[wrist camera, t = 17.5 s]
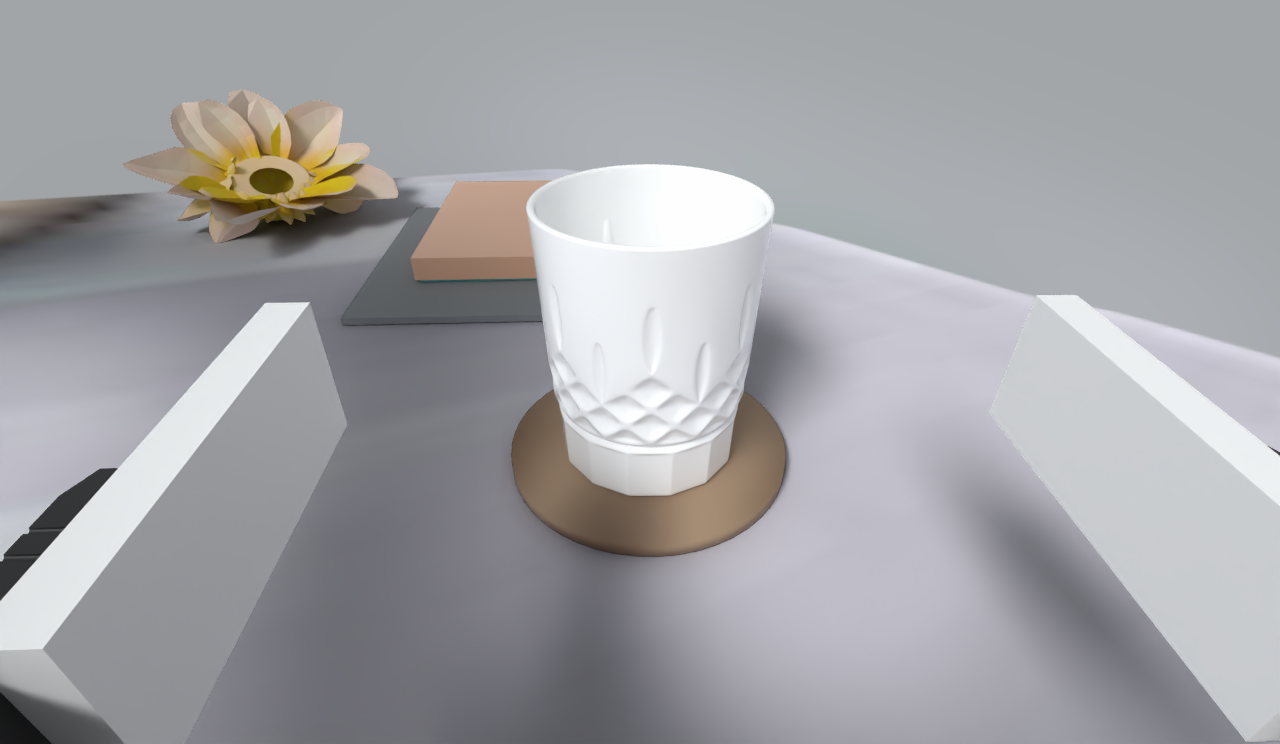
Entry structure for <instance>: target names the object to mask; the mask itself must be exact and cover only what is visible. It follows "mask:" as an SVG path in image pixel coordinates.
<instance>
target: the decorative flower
mask: <svg viewBox="0 0 1280 744" xmlns="http://www.w3.org/2000/svg"><path fill="white" fill-rule="evenodd" d="M228 106H229V107H228ZM228 106H226V105H223V104H221V103H219V102H216V101H212V100H205V101H201V102H190V103H181V104H180V105H178V106H177V107H176V108H175V109H173V111H172V115H171V123H172V128H173V130H174V132H175V134H176V136H177V138H178V139H179V141H180V142H181V143H182V144H183V145H184V147H185V148H180V147H174V148H171V149H167V150H164V151H160V152H157V153H154V154H151V155H148V156H144V157H141V158H137V159H134V160H131V161H129V162H127V163H124V164H123V165H124V167H125V168H127V169H129V170H131V171H133V172H135V173H137V174H140V175H143V176H146V177H149V178H152V179H155V180H158V181H161V182H164V183H168V184H171V185H175V187H173V188H172V189H170V190H169V191H168V193H170V194H175V195H180V196H184V197H188V198H194V199H195V200H194V201H193V202H192V203H191V204H190V205H189V206H188V207H187V209H186V210H185V211H184V213H183V214H182V215H181V216H180V217H179V218H178V220H177V221H190V220H194V219H197V218H200V217H201V216H203V215H205V214H206V213H208V212H210V211H211V210H212V211H211V215H210V220H209V233H210V235H211V237H212V239H213V241H214V242H215V243H221V242H225V241H228V240H231V239H234V238H236V237H239V236H241V235H244V234H246V233H249V232H251V231H252V230H254V229H255V228H256V227H257V225H258V224H259V222H260V220H261V219H265V220H266V222H267V223H268V222H270V221H272V220H274V221H279V220H284V221H286V222H287V223H289V224H291V225H292V222H293V217H294V218H295V219H298V220H301V221H304V222H306V216H305V214H313V215H316V214H315V212H314V210H313V209H314V208H317V207H320V206H323V207H325V208H327V209H329V210H332V211H334V212H337V213H340V214H344V213H349V212H353V211H356V210H358V209H359V208H360V206H361V205H362V203H363V200H378V199H392V198H397V197H398V190H397V188H396V185H395V182H394V179H393V178H392V177H391V176H389V175H388V174H387V173H386V172H385V171H383V170H381V169H379V168H376V167H374V166H371V165H368V164H353V163H355V162H357V161H359V160H361V159H363V158H365V157H367V156H368V154H369V152H370V149H369V148H368V146H366V145H365V144H362V143H348V144H342V145H338V140H339V135H340V130H341V124H342V117H343V110H342V109H340V108H339V107H337V106H335V105H332V104H330V103H327V102H325V101H322V100H320V101H310V102H305V103H303V104H301V105H299V106H297V107H295V108H292V109H290V110H289V111H288V112H287V114H286V115H285V116H283V114H282V112H281V111H280V110H279V109H278V108H277V107H276V106H275V104H273V103H271V102H270V101H269V100H267V99H263V98H262V97H260V96H259V95H257V94H256V93H252V92H249V91H245V90H238V91H232V92H230V94H229V101H228ZM337 145H338V146H337ZM304 213H305V214H304Z"/></svg>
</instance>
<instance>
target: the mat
mask: <svg viewBox="0 0 1280 744" xmlns="http://www.w3.org/2000/svg"><path fill="white" fill-rule="evenodd" d="M439 210H440V208H416V210H415V211H414V212H413V214H412V215H411V217H410V218H409V220H408V221H407V223H406V224H405V226H404V227H403V228H402V230H401V231H400V233H399V234H398V236H397V237H396V239H395V240H394V242H393V243H392V245H391V246H390V247H389V249H388V250H387V252H386V253H385V255H384V256H383V258H382V259H381V261H380V262H379V264H378V265H377V266H376V268H375V269H374V271H373V272H372V274H371V275H370V277H369V278H368V280H367V281H366V283H365V284H364V285H363V287H362V288H361V290H360V291H359V293H358V294H357V296H356V297H355V299H354V300H353V301H352V303H351V304H350V306H349V307H348V309H347V310H346V312H345V313H344V315H343V316H342V318H341V321H342V324H343V325H369V324H420V323H471V322H523V321H543V319H542V312H541V305H540V299H539V292H538V285H537V280H501V281H443V282H420V280H415V278H414V274H413V269H412V264H411V259H410V258H411V256H412V255H413V253H414V251H415V250H416V248H417V246H418V245H419V243H420V241H421V240H422V238H423V236H424V235H425V233H426V231H427V230H428V228H429V226H430V225H431V223H432V221H433V220H434V218H435V216H436V215H437V213H438V211H439Z"/></svg>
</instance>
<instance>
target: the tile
mask: <svg viewBox="0 0 1280 744" xmlns="http://www.w3.org/2000/svg"><path fill="white" fill-rule="evenodd" d="M549 182H551V181H475V182H456V183H455V185H454V186H453V188H452V190H451V191H450V193H449V195H448V196H447V198H446V200H445V201H444V203H443V205H442V206H441V208H440V210H439V211H438V213H437V215H436V216H435V218H434V220H433V221H432V223H431V225H430V226H429V228H428V230H427V231H426V233H425V235H424V236H423V238H422V240H421V241H420V243H419V245H418V246H417V248H416V250H415V251H414V253H413V255H412V256H411V258H410V259H411V264H412V269H413V274H414V278H415V280H420V282H443V281H501V280H537V278H536V271H535V264H534V257H533V251H532V244H531V238H530V231H529V224H528V218H527V212H526V205H527V201H528V199H529V198H530V196H531V195H532V194H533V193H534V192H535V191H536V190H537V189H539V188H540V187H541V186H543V185H545V184H547V183H549Z"/></svg>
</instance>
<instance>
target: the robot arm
mask: <svg viewBox="0 0 1280 744" xmlns="http://www.w3.org/2000/svg"><path fill="white" fill-rule="evenodd" d="M989 414H990V415H991V416H992V418H993V419H994V420H995V421H996V423H997V424H998V425H999V427H1000V428H1001V429H1002V430H1003V432H1004V433H1005V434H1006V436H1007V437H1008V438H1009V439H1010V441H1011V442H1012V443H1013V444H1014V446H1015V447H1016V448H1017V450H1018V451H1019V452H1020V453H1021V455H1022V456H1023V457H1024V459H1025V460H1026V461H1027V462H1028V464H1029V465H1030V466H1031V467H1032V469H1033V470H1034V471H1035V473H1036V474H1037V475H1038V476H1039V478H1040V479H1041V480H1042V482H1043V483H1044V484H1045V485H1046V487H1047V488H1048V489H1049V490H1050V492H1051V493H1052V494H1053V496H1054V497H1055V498H1056V499H1057V501H1058V502H1059V503H1060V505H1061V506H1062V507H1063V508H1064V510H1065V511H1066V512H1067V513H1068V515H1069V516H1070V517H1071V519H1072V520H1073V521H1074V522H1075V524H1076V525H1077V526H1078V528H1079V529H1080V530H1081V531H1082V533H1083V534H1084V535H1085V536H1086V538H1087V539H1088V540H1089V542H1090V543H1091V544H1092V545H1093V547H1094V548H1095V549H1096V550H1097V552H1098V553H1099V554H1100V556H1101V557H1102V558H1103V559H1104V561H1105V562H1106V563H1107V565H1108V566H1109V567H1110V568H1111V570H1112V571H1113V572H1114V573H1115V575H1116V576H1117V577H1118V579H1119V580H1120V581H1121V582H1122V584H1123V585H1124V586H1125V588H1126V589H1127V590H1128V591H1129V593H1130V594H1131V595H1132V596H1133V598H1134V599H1135V600H1136V602H1137V603H1138V604H1139V605H1140V607H1141V608H1142V609H1143V611H1144V612H1145V613H1146V614H1147V616H1148V617H1149V618H1150V619H1151V621H1152V622H1153V623H1154V625H1155V626H1156V627H1157V628H1158V630H1159V631H1160V632H1161V634H1162V635H1163V636H1164V637H1165V639H1166V640H1167V641H1168V642H1169V644H1170V645H1171V646H1172V648H1173V649H1174V650H1175V651H1176V653H1177V654H1178V655H1179V657H1180V658H1181V659H1182V660H1183V662H1184V663H1185V664H1186V665H1187V667H1188V668H1189V669H1190V671H1191V672H1192V673H1193V674H1194V676H1195V677H1196V678H1197V680H1198V681H1199V682H1200V683H1201V685H1202V686H1203V687H1204V688H1205V690H1206V691H1207V692H1208V694H1209V695H1210V696H1211V697H1212V699H1213V700H1214V701H1215V702H1216V704H1217V705H1218V706H1219V708H1220V709H1221V710H1222V711H1223V713H1224V714H1225V715H1226V717H1227V718H1228V719H1229V720H1230V722H1231V723H1232V724H1233V725H1234V727H1235V728H1236V729H1237V731H1238V732H1239V733H1240V734H1241V736H1242V737H1243V738H1244V740H1245V741H1246V742H1257V741H1280V452H1278V451H1276V450H1275V449H1273V448H1271V447H1269V446H1267V445H1265V444H1264V443H1263V442H1262V441H1260V440H1259V439H1258V438H1257V437H1255V436H1254V435H1253V434H1251V433H1250V432H1249V431H1248V430H1246V429H1245V428H1244V427H1243V426H1241V425H1240V424H1239V423H1238V422H1236V421H1235V420H1234V419H1233V418H1231V417H1230V416H1229V415H1227V414H1226V413H1225V412H1224V411H1222V410H1221V409H1220V408H1219V407H1217V406H1216V405H1215V404H1214V403H1212V402H1211V401H1210V400H1208V399H1207V398H1206V397H1205V396H1203V395H1202V394H1201V393H1200V392H1198V391H1197V390H1196V389H1195V388H1193V387H1192V386H1191V385H1190V384H1188V383H1187V382H1186V381H1184V380H1183V379H1182V378H1181V377H1179V376H1178V375H1177V374H1176V373H1174V372H1173V371H1172V370H1171V369H1169V368H1168V367H1167V366H1166V365H1164V364H1163V363H1162V362H1160V361H1159V360H1158V359H1157V358H1155V357H1154V356H1153V355H1152V354H1150V353H1149V352H1148V351H1147V350H1145V349H1144V348H1143V347H1141V346H1140V345H1139V344H1138V343H1136V342H1135V341H1134V340H1133V339H1131V338H1130V337H1129V336H1128V335H1126V334H1125V333H1124V332H1123V331H1121V330H1120V329H1119V328H1117V327H1116V326H1115V325H1114V324H1112V323H1111V322H1110V321H1109V320H1107V319H1106V318H1105V317H1104V316H1102V315H1101V314H1100V313H1098V312H1097V311H1096V310H1095V309H1093V308H1092V307H1091V306H1090V305H1088V304H1087V303H1086V302H1085V301H1083V300H1082V299H1081V298H1080V297H1078V296H1077V295H1036V297H1035V300H1034V302H1033V305H1032V307H1031V310H1030V312H1029V315H1028V317H1027V320H1026V322H1025V325H1024V327H1023V329H1022V332H1021V334H1020V337H1019V339H1018V342H1017V344H1016V347H1015V349H1014V352H1013V354H1012V357H1011V359H1010V362H1009V364H1008V367H1007V369H1006V372H1005V374H1004V377H1003V379H1002V382H1001V384H1000V387H999V389H998V392H997V394H996V397H995V399H994V401H993V404H992V406H991V409H990V411H989ZM347 425H348V424H347V421H346V417H345V414H344V411H343V408H342V404H341V401H340V398H339V395H338V392H337V388H336V385H335V382H334V379H333V375H332V372H331V369H330V366H329V363H328V359H327V356H326V353H325V350H324V346H323V343H322V340H321V337H320V333H319V330H318V327H317V324H316V321H315V317H314V314H313V311H312V308H311V304H310V302H303V303H265V304H264V305H263V306H262V307H261V308H260V309H259V310H258V312H257V313H256V314H255V315H254V316H253V317H252V318H251V319H250V321H249V322H248V323H247V324H246V325H245V326H244V327H243V328H242V330H241V331H240V332H239V333H238V334H237V335H236V336H235V337H234V339H233V340H232V341H231V342H230V343H229V344H228V345H227V346H226V348H225V349H224V350H223V351H222V352H221V353H220V354H219V355H218V357H217V358H216V359H215V360H214V361H213V362H212V363H211V364H210V366H209V367H208V368H207V369H206V370H205V371H204V372H203V373H202V375H201V376H200V377H199V378H198V379H197V380H196V381H195V382H194V384H193V385H192V386H191V387H190V388H189V389H188V390H187V391H186V393H185V394H184V395H183V396H182V397H181V398H180V399H179V400H178V402H177V403H176V404H175V405H174V406H173V407H172V408H171V409H170V411H169V412H168V413H167V414H166V415H165V416H164V417H163V418H162V420H161V421H160V422H159V423H158V424H157V425H156V426H155V427H154V429H153V430H152V431H151V432H150V433H149V434H148V435H147V436H146V438H145V439H144V440H143V441H142V442H141V443H140V444H139V445H138V447H137V448H136V449H135V450H134V451H133V452H132V453H131V454H130V456H129V457H128V458H127V459H126V460H125V461H124V462H123V464H122V465H121V466H120V467H119V468H108V469H99V470H97V471H96V472H94V473H93V474H91V475H90V476H88V477H87V478H85V479H84V480H82V481H81V482H79V483H78V484H76V485H75V486H73V487H72V488H70V489H69V490H67V491H66V492H64V493H63V494H61V495H60V496H59V497H58V498H57V499H56V500H55V501H54V502H53V503H52V504H51V505H50V506H49V507H48V508H47V509H46V510H45V511H44V512H43V514H42V515H41V516H40V517H39V518H38V519H37V520H36V521H35V522H34V523H33V524H32V525H31V526H30V527H29V529H30V530H29V533H28V534H23V535H22V536H21V537H20V538H19V539H18V540H17V541H16V542H15V543H14V544H13V545H12V546H11V547H10V548H9V549H8V550H7V552H6V553H5V554H4V560H3V561H2V562H0V744H185V743H186V741H187V739H188V737H189V735H190V733H191V731H192V729H193V727H194V725H195V723H196V721H197V719H198V717H199V715H200V714H201V712H202V710H203V708H204V706H205V704H206V702H207V700H208V698H209V696H210V694H211V692H212V690H213V688H214V686H215V684H216V682H217V680H218V678H219V676H220V674H221V672H222V670H223V668H224V666H225V664H226V662H227V661H228V659H229V657H230V655H231V653H232V651H233V649H234V647H235V645H236V643H237V641H238V639H239V637H240V635H241V633H242V631H243V629H244V627H245V625H246V623H247V621H248V619H249V617H250V615H251V613H252V611H253V609H254V608H255V606H256V604H257V602H258V600H259V598H260V596H261V594H262V592H263V590H264V588H265V586H266V584H267V582H268V580H269V578H270V576H271V574H272V572H273V570H274V568H275V566H276V564H277V562H278V560H279V558H280V556H281V555H282V553H283V551H284V549H285V547H286V545H287V543H288V541H289V539H290V537H291V535H292V533H293V531H294V529H295V527H296V525H297V523H298V521H299V519H300V517H301V515H302V513H303V511H304V509H305V507H306V505H307V503H308V501H309V500H310V498H311V496H312V494H313V492H314V490H315V488H316V486H317V484H318V482H319V480H320V478H321V476H322V474H323V472H324V470H325V468H326V466H327V464H328V462H329V460H330V458H331V456H332V454H333V452H334V450H335V448H336V447H337V445H338V443H339V441H340V439H341V437H342V435H343V433H344V431H345V429H346V427H347Z"/></svg>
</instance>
